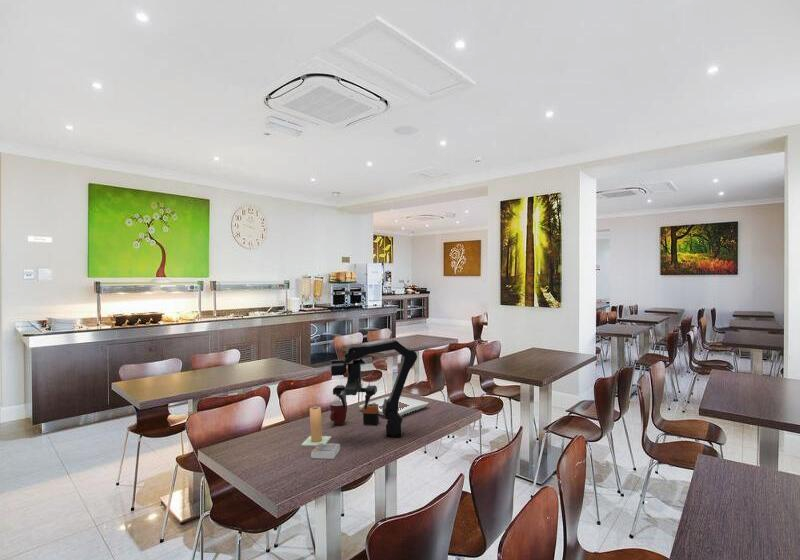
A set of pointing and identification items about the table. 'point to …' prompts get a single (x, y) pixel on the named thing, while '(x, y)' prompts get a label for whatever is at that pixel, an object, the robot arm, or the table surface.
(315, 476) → the table surface
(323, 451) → the frame
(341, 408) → the mug
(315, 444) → the mat
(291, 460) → the table surface
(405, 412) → the square plate
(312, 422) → the plug
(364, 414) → the battery
